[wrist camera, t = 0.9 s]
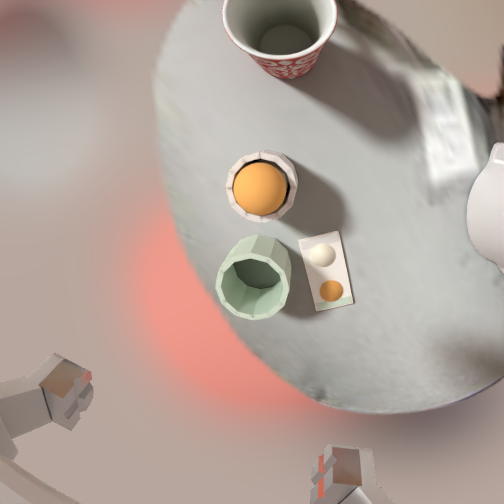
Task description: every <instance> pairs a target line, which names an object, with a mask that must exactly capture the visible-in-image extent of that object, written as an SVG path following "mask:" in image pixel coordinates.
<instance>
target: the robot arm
mask: <svg viewBox="0 0 504 504" xmlns="http://www.w3.org/2000/svg"><path fill="white" fill-rule="evenodd" d="M467 227H468V232H469V236H470V239H471V241H472V243H473V245H474V247H475V248H476V250H477V251H478V252H479V253H480V254H481V255H482V256H483V257H484V258H486V259H488V260H490V261H492V262H494V263H495V264H496V265H497V266H498V268H499V269H500V271H501V272H502V273H503V274H504V143H502V142H498V143H496V144H495V145H494V146H493V148H492V151H491V154H490V158H489V162H488V164H487V165H486V167H485V168H484V169H483V170H482V172H481V173H480V174H479V176H478V177H477V179H476V181H475V183H474V185H473V187H472V189H471V192H470V195H469V199H468V205H467ZM91 379H92V375H91V372H90V371H88V370H86V369H85V368H82V367H81V366H79V365H77V364H75V363H73V362H71V361H69V360H67V359H65V358H64V357H62V356H60V355H58V354H56V353H54V354H51V355H50V356H49V357H48V358H47V359H46V360H45V361H44V362H43V363H42V364H41V365H40V366H39V367H38V368H37V369H36V370H35V371H34V372H33V373H32V374H31V375H30V376H29V377H28V378H26V377H21V378H17V379H13V380H9V381H5V382H1V383H0V504H81V503H80V502H78V501H76V500H74V499H72V498H70V497H68V496H66V495H65V494H63V493H61V492H60V491H58V490H56V489H55V488H53V487H51V486H49V485H48V484H46V483H45V482H43V481H42V480H40V479H38V478H37V477H35V476H34V475H32V474H30V473H29V472H28V471H26V470H25V469H23V468H22V467H20V466H19V465H18V464H16V463H15V462H13V459H14V458H15V457H16V455H17V454H18V449H17V447H16V445H15V444H14V442H13V440H12V439H13V438H15V437H17V436H20V435H22V434H25V433H27V432H29V431H32V430H34V429H36V428H39V427H41V426H43V425H45V424H47V423H50V422H51V420H52V421H54V422H55V423H57V424H59V425H61V426H63V427H65V428H67V429H68V430H72V429H73V428H74V426H75V425H76V424H77V422H78V421H79V419H80V414H79V412H82V411H85V410H87V408H88V407H89V405H90V403H91V401H92V398H93V386H92V385H91V384H90V380H91ZM311 480H312V482H313V483H314V485H315V486H314V487H313V488H312V490H311V498H310V504H394V502H393V501H392V500H391V499H390V498H389V497H388V495H387V494H386V493H385V492H384V490H383V489H382V488H381V487H377V483H376V475H375V468H374V460H373V453H372V450H371V449H366V448H356V447H351V446H343V445H334V444H328V445H327V446H326V447H325V449H324V454H323V455H321V456H319V457H318V458H317V460H316V461H315V463H314V466H313V468H312V476H311Z"/></svg>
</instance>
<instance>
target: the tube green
mask: <svg viewBox="0 0 504 504" xmlns="http://www.w3.org/2000/svg"><path fill="white" fill-rule="evenodd" d="M250 258H251V259H255V260H259V261H263V262H266V263H268V264H269V265H270V266H271V267H272V268H273V269H274V270H275V271H276V272H278V273H279V275H280V278H281V280H280V281H279V282H278V283H277V284H276V285H275V286H273V287H269V288H264V289H258V288H254V287H250V286H247V285H246V284H245V283H244V282H243V281H242V280H241V279H239V278H238V277H237V274H236V271H235V268H234V265H233V263H234V262H237V261H241V260H245V259H250ZM291 269H292V264H291V261H290V257H289V254H288V250H287V249H286V248H285V247H284V246H283V245H282V244H281V243H280V242H279V241H278V240H277V239H275V238H272V237H268V236H264V235H261V234H257V235H253V236H249V237H245V238H242V239H241V240H240V241H239V242H238V243H237V244H236V245H235V246H234V247H233V248H232V250H231V251H230V253H229V254H228V256H227V257H226V259H225V261H224V262H223V264H222V265H221V267H220V269H219V271H218V276H217V281H216V286H215V287H216V290H217V293H218V295H219V298H220V301H221V303H222V304H223V305H224V306H225V307H226V308H227V309H228V310H230V311H231V312H232V313H233V314H234V315H236V316H239V317H243V318H247V319H250V320H257V319H263V318H268V317H271V316H273V315H274V314H275V313H276V312H277V311H279V310H280V309H281V308H282V307H283V306H284V305H285V302H286V299H287V296H288V292H289V289H290V279H291Z"/></svg>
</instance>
